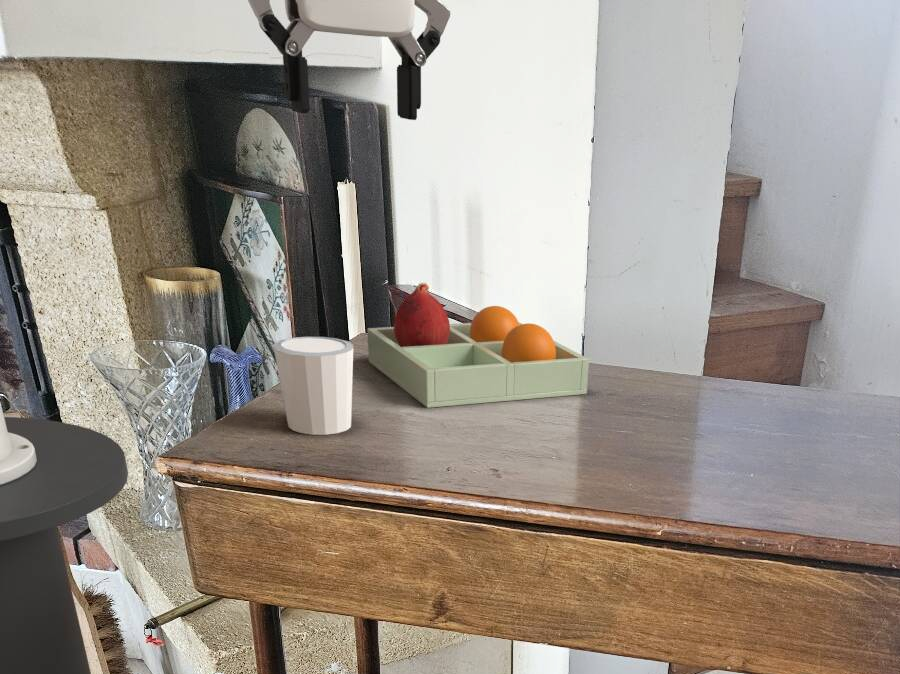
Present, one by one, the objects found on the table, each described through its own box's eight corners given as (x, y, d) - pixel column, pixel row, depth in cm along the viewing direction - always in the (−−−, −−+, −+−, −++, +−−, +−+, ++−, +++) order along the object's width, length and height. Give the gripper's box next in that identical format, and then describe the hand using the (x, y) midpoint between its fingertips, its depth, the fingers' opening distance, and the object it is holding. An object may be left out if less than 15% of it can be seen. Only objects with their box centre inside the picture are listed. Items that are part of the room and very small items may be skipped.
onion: (423, 373, 107) (421, 291, 103) (383, 362, 110) (380, 281, 105) (460, 364, 111) (460, 284, 107) (421, 353, 114) (420, 275, 109)
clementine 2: (515, 389, 105) (516, 331, 102) (492, 375, 109) (493, 319, 106) (563, 385, 107) (566, 328, 104) (539, 371, 111) (542, 316, 108)
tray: (427, 408, 100) (426, 370, 98) (368, 362, 112) (367, 328, 110) (586, 394, 107) (589, 359, 105) (514, 352, 120) (515, 320, 118)
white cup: (272, 434, 91) (263, 351, 87) (291, 411, 96) (284, 332, 92) (350, 439, 91) (345, 356, 87) (365, 416, 96) (360, 337, 93)
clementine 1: (481, 368, 111) (482, 313, 108) (461, 355, 115) (461, 301, 112) (528, 365, 113) (530, 310, 110) (507, 352, 117) (508, 299, 114)
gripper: (432, -118, 88) (431, 118, 97) (223, -152, 80) (245, 106, 90) (467, -127, 82) (462, 124, 92) (247, -164, 75) (267, 112, 84)
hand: (355, 115), depth 91 cm, fingers open, 9 cm apart
